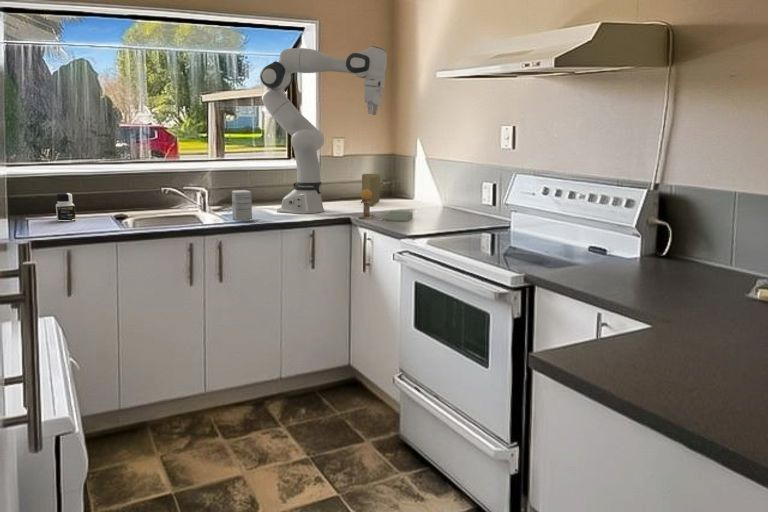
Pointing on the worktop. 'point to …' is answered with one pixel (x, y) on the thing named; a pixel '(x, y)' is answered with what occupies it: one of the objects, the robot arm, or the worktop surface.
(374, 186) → the khaki rectangular block
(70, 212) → the medicine bottle
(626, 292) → the worktop surface
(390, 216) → the tray
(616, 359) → the worktop surface
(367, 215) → the tee
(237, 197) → the supplement box
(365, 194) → the ball
